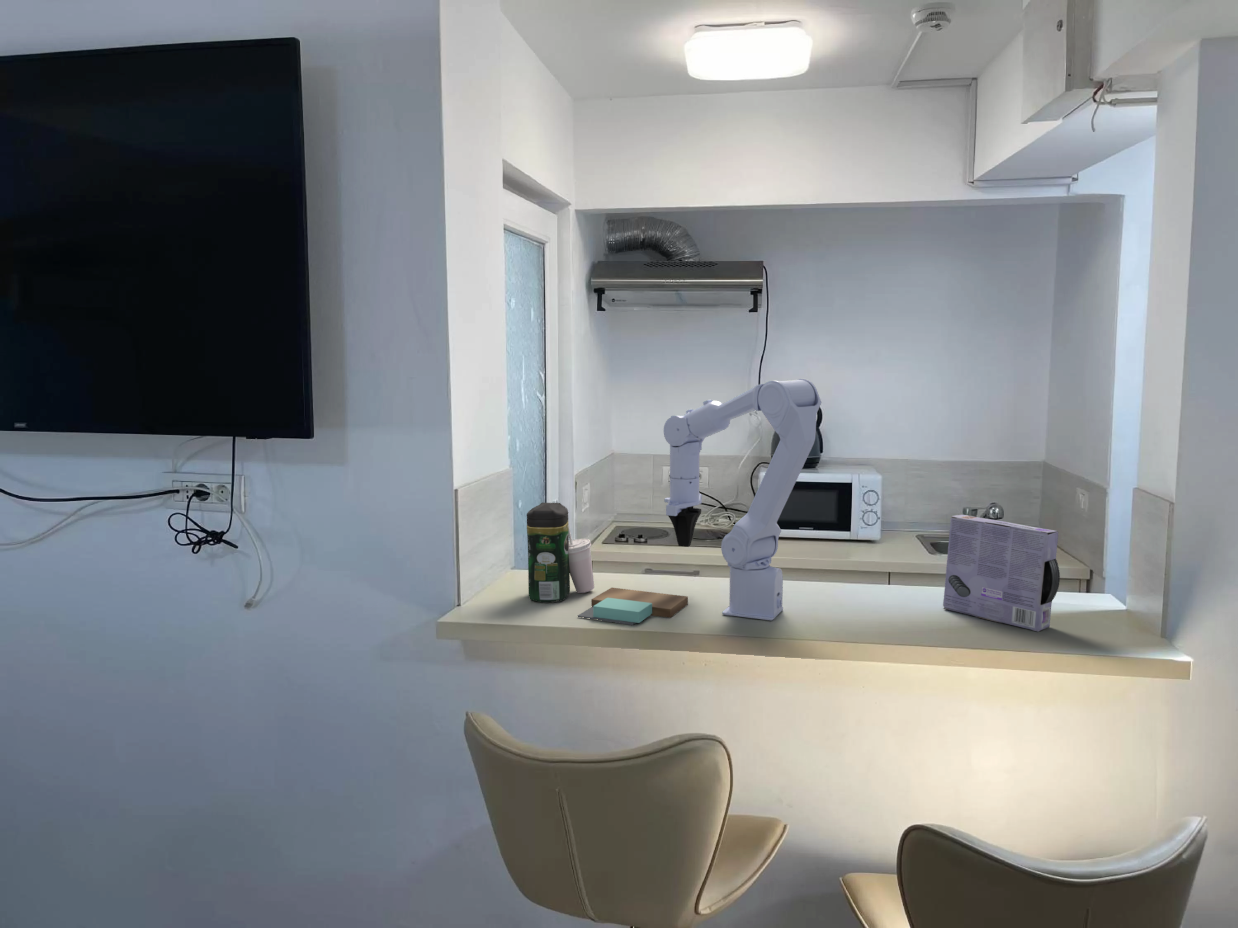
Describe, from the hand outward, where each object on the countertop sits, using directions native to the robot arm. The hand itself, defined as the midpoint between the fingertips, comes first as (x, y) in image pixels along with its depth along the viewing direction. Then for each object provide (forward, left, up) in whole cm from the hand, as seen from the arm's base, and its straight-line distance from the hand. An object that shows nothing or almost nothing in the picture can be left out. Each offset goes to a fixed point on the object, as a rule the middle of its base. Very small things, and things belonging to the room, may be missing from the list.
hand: (684, 545), depth 181 cm
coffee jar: (+24, +12, -10) cm, 29 cm away
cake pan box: (-57, -8, -10) cm, 58 cm away
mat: (+7, +19, -10) cm, 22 cm away
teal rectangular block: (+5, +18, -10) cm, 21 cm away
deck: (+5, +11, -10) cm, 15 cm away
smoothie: (+19, +6, -10) cm, 22 cm away
